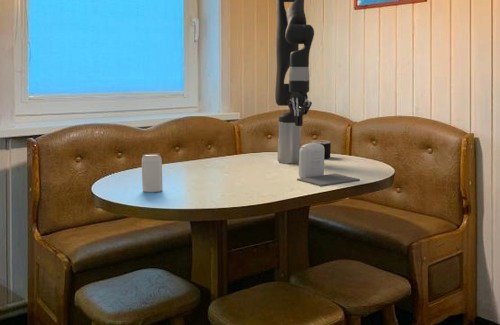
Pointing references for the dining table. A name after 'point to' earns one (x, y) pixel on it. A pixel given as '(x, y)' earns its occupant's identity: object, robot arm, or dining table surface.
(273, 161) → the dining table surface
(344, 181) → the mat
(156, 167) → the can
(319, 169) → the photo printer
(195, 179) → the dining table surface
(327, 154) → the sushi
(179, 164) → the dining table surface
